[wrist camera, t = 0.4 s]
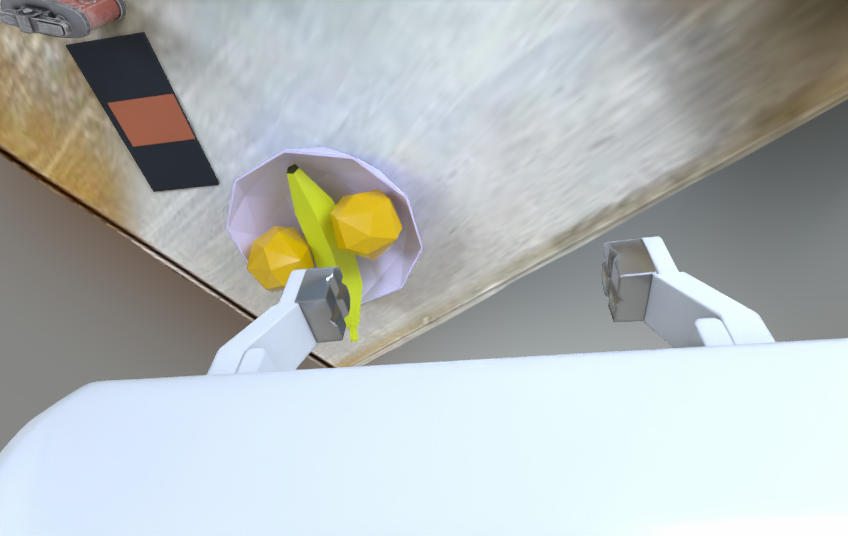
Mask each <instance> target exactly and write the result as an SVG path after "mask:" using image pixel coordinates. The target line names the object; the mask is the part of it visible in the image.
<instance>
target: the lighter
mask: <svg viewBox="0 0 848 536" xmlns="http://www.w3.org/2000/svg"><path fill="white" fill-rule="evenodd" d="M0 6H1V10H2V11H0V22H1V23H2V24H4V25H8V26H13V27H18V28H20V30H21V32H24V33H40V34H44V35H48V36H53V37H61V38H83V37H86V36H88V35H89V34H90V32H91V31H92V30H94V29H96V28H98V27H100V26H102V25H104V24H106V23H108V22H110V21H112V20H119V19H121V18H123V17H124V16H125V14H126V6H125V3H124V2H123V0H1V2H0Z"/></svg>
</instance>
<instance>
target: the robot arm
mask: <svg viewBox="0 0 848 536" xmlns="http://www.w3.org/2000/svg"><path fill="white" fill-rule="evenodd" d="M603 255H604V258H605V262H604V263H603V264H602V269H601V276H602V285H603V290H604V293H605V295H606V296H607V297H609V305H608V306H609V309H610V312H611V315H612V318H613V321H614V322H628V321H629V322H630V321H644V322H645V323H646V324H647V325H648V326H649V327H650V328H651V329H653V330H654V331H655V332H656V333H657V334H658V335H660V336H661V337H662V338H663V339H664V340H665V341H667V342H668V343H669V344H670V345H671V346H672V347H674V348H667V349H650V350H633V351H618V352H601V353H583V354H565V355H547V356H530V357H512V358H495V359H478V360H462V361H444V362H427V363H411V364H393V365H375V366H358V367H340V368H323V369H305V370H295V369H296V368H297V367H298V366H299V365H300V364H301V362H302V361H303V360H304V359H305V358H306V357H307V355H308V354H309V353H310V352H311V351H312V350H313V349H314V347H315V346H316V345H317V343H319V342H330V341H340V340H343V336H344V332H345V328H346V323H345V320H344V318H345V317H346V316H347V315H348V314H349V311H350V294H349V290H348V288H347V286H346V285H345V284H343V283H342V278H343V274H342V272H341V270H340V268H339V267H324V268H309V269H298V270H293V271H292V272H291V273H290V276H289V278H288V281H287V283H286V286H285V288H284V291H283V293H282V295H281V298H280V300H279V303H278V305H273V306H272V307H271V308H269V309H268V310H267V311H266V312H264V313H263V314H262V315H261V316H259V317H258V318H257V319H256V320H254V321H253V322H252V323H251V324H250V325H248V326H247V327H246V328H245V329H243V330H242V331H241V332H240V333H238V334H237V335H236V336H235V337H233V338H232V339H231V340H230V341H228V342H227V343H226V344H225V345H224V346H222V347H221V348H220V349H219V350H218V352H217V354H216V356H215V358H214V360H213V363H212V365H211V367H210V369H209V371H208V373H207V375H202V376H183V377H167V378H149V379H132V380H109V381H97V382H92V383H89V384H86V385H84V386H82V387H81V388H79V389H77V390H76V391H74V392H72V393H71V394H69V395H67V396H66V397H64V398H63V399H61V400H60V401H58V402H57V403H55V404H54V405H52V406H51V407H49V408H48V409H46V410H45V411H43V412H42V413H40V414H39V415H38V416H36V417H35V418H33V419H32V420H31V421H29V422H28V423H27V424H26V425H25V426H24V427H23V428H22V429H21V430H20V431H19V432H18V433H17V434H16V435H15V436H14V437H13V439H12V440H11V441H10V442H9V443H8V444H7V445H6V447H5V448H4V449H3V450H2V451H1V453H0V536H848V338H840V339H823V340H808V341H807V340H805V341H789V342H775V340H774V339H773V337H772V335H771V334H770V332H769V331H768V329H767V327H766V326H765V324H764V323H763V321H762V319H761V318H760V316H759V315H758V314H757V313H756V312H754V311H752V310H750V309H749V308H747V307H745V306H743V305H742V304H740V303H738V302H736V301H734V300H733V299H731V298H729V297H727V296H726V295H724V294H722V293H720V292H718V291H717V290H715V289H713V288H711V287H710V286H708V285H706V284H704V283H703V282H701V281H699V280H697V279H695V278H694V277H692V276H690V275H688V274H687V273H685V272H679V271H678V270H677V268H676V266H675V264H674V262H673V260H672V258H671V256H670V254H669V252H668V250H667V249H666V246H665V244H664V242H663V241H662V239H661V238H660V237H659V236H657V237H649V238H641V239H633V240H623V241H612V242H605V244H604V247H603Z"/></svg>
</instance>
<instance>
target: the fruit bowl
mask: <svg viewBox="0 0 848 536" xmlns="http://www.w3.org/2000/svg"><path fill="white" fill-rule="evenodd" d="M226 231H227V232H228V234H229V235H230V237H231V239H232V240H233V242H234V244H235V245H236V247H237V248H238V250H239V252H240V253H241V255H242V256H243V258H244V260H245V261H246V263H247V264H248V266H247V269H248V270H249V272H250V273H251V274H252V275H253V276H254V277H255V278H256V279H257V280H258V281H259V282H260V283H261V285H262V286H263V287H264V288H265V289H266V290H269V291H272V292H273V291H280V290H282V291H284V288H285V286H286V283H287V281H288V278H289V276H290V273H291V272H292V271H293V270H298V269H309V268H324V267H339V268H340V270H341V272H342V274H343V278H342V283H343V284H345V285H346V286H347V288H348V290H349V294H350V311H349V314H348V315H347V316H346V317H345V318H344V320H345V323H346V327H347V328H349V330H350V337H351V342H352V341H358V334H357V327H356V326H359V317H360V306H361V305H364V304H366V303H368V302H371V301H373V300H376V299H378V298H380V297H383V296H385V295H388V294H390V293H392V292H395V291H397V290H400V289H402V288H403V286H404V284H405V282H406V280H407V278H408V277H409V275H410V273H411V271H412V269H413V267H414V265H415V264H416V262H417V260H418V258H419V256H420V254H421V252H422V251H423V249H424V248H423V244H422V241H421V238H420V235H419V231H418V228H417V225H416V221H415V218H414V215H413V212H412V208H411V205H410V202H409V199H408V197H407V196H406V195H405V194H404V193H403V192H402V191H401V190H400V189H399V188H398V187H397V186H395V185H394V184H393V183H392V182H391V181H390V180H389V179H388V178H387V177H386V176H385V175H384V174H383V173H381V172H380V171H379V170H378V169H376V168H374V167H372V166H370V165H368V164H367V163H365V162H363V161H361V160H359V159H357V158H355V157H353V156H350V155H347V154H344V153H341V152H338V151H335V150H332V149H329V148H326V147H316V148H300V149H285V150H282V151H280V152H278V153H277V154H275V155H274V156H272V157H270V158H269V159H267V160H265V161H264V162H262V163H261V164H259V165H257V166H256V167H254V168H252V169H251V170H249V171H248V172H246V173H244V174H243V175H241V176H239V177H238V178H236V179H235V180H234V182H233V188H232V193H231V199H230V205H229V211H228V217H227V223H226Z"/></svg>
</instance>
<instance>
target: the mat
mask: <svg viewBox="0 0 848 536" xmlns="http://www.w3.org/2000/svg"><path fill="white" fill-rule="evenodd" d="M66 47H67V49H68V50H69V52H70V54H71V55H72V57H73V59H74V60H75V62H76V63H77V65H78V67H79V68H80V70H81V72H82V73H83V75H84V77H85V78H86V80H87V82H88V83H89V85H90V87H91V88H92V90H93V92H94V93H95V95H96V97H97V98H98V100H99V102H100V103H101V105H102V107H103V108H104V110H105V112H106V113H107V115H108V117H109V118H110V120H111V122H112V123H113V125H114V127H115V128H116V130H117V132H118V133H119V135H120V136H121V138H122V140H123V141H124V143H125V145H126V146H127V148H128V150H129V151H130V153H131V155H132V156H133V158H134V160H135V161H136V163H137V165H138V166H139V168H140V170H141V171H142V173H143V175H144V176H145V178H146V180H147V181H148V183H149V185H150V186H151V188H152V190H153V191H154V192H155V191H164V190H173V189H182V188H192V187H201V186H210V185H218V184H219V183H218V181H217V179H216V177H215V174H214V172H213V170H212V168H211V166H210V164H209V162H208V160H207V158H206V156H205V154H204V152H203V150H202V148H201V146H200V144H199V142H198V140H197V138H196V136H195V134H194V132H193V130H192V128H191V126H190V124H189V122H188V120H187V118H186V116H185V114H184V112H183V110H182V108H181V106H180V104H179V102H178V100H177V98H176V96H175V94H174V92H173V90H172V88H171V86H170V84H169V81H168V79H167V77H166V75H165V73H164V71H163V69H162V67H161V65H160V63H159V61H158V59H157V57H156V55H155V53H154V51H153V49H152V47H151V45H150V43H149V41H148V39H147V37H146V35H145V33H144V32H143V33H137V34H131V35H125V36H119V37H113V38H107V39H100V40H94V41H88V42H82V43H76V44H70V45H66Z"/></svg>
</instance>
